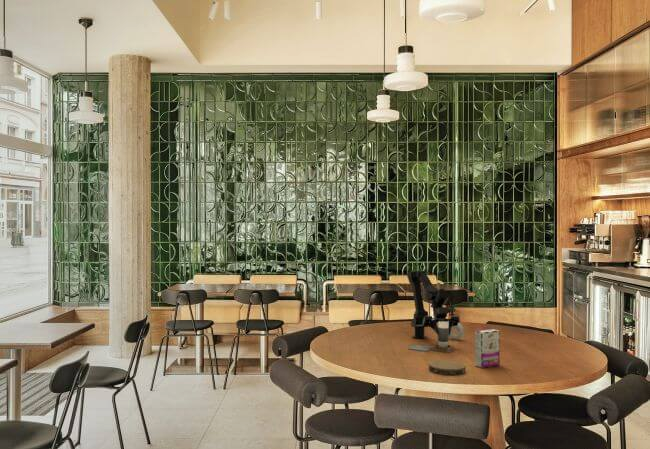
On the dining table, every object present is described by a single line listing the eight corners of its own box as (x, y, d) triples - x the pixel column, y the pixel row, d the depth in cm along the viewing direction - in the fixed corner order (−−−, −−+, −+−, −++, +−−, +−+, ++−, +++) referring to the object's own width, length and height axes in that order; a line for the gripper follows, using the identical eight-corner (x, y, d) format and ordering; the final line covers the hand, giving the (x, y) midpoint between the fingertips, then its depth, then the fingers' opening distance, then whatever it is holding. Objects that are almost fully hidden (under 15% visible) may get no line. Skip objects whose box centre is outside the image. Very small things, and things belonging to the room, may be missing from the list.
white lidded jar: (439, 344, 302) (440, 320, 301) (450, 346, 299) (450, 321, 299) (436, 346, 297) (436, 321, 297) (446, 348, 294) (447, 323, 294)
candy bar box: (492, 363, 270) (492, 328, 270) (499, 365, 266) (500, 330, 266) (474, 365, 265) (474, 330, 265) (481, 368, 261) (482, 332, 261)
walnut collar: (437, 347, 304) (437, 343, 304) (454, 349, 299) (454, 345, 299) (431, 350, 296) (431, 346, 296) (448, 352, 292) (448, 348, 292)
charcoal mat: (414, 345, 307) (414, 344, 307) (432, 348, 302) (432, 347, 302) (407, 349, 298) (407, 348, 298) (426, 351, 293) (426, 350, 293)
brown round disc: (423, 372, 253) (423, 365, 253) (437, 365, 267) (437, 358, 267) (457, 378, 245) (457, 371, 245) (470, 370, 258) (470, 363, 258)
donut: (445, 339, 326) (445, 321, 326) (446, 338, 329) (447, 320, 329) (463, 340, 321) (463, 323, 321) (464, 339, 325) (464, 322, 325)
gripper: (424, 300, 301) (429, 325, 290) (458, 300, 302) (465, 325, 291) (420, 313, 309) (425, 337, 298) (454, 313, 310) (460, 337, 299)
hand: (444, 334), depth 296 cm, fingers closed on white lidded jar, 6 cm apart
